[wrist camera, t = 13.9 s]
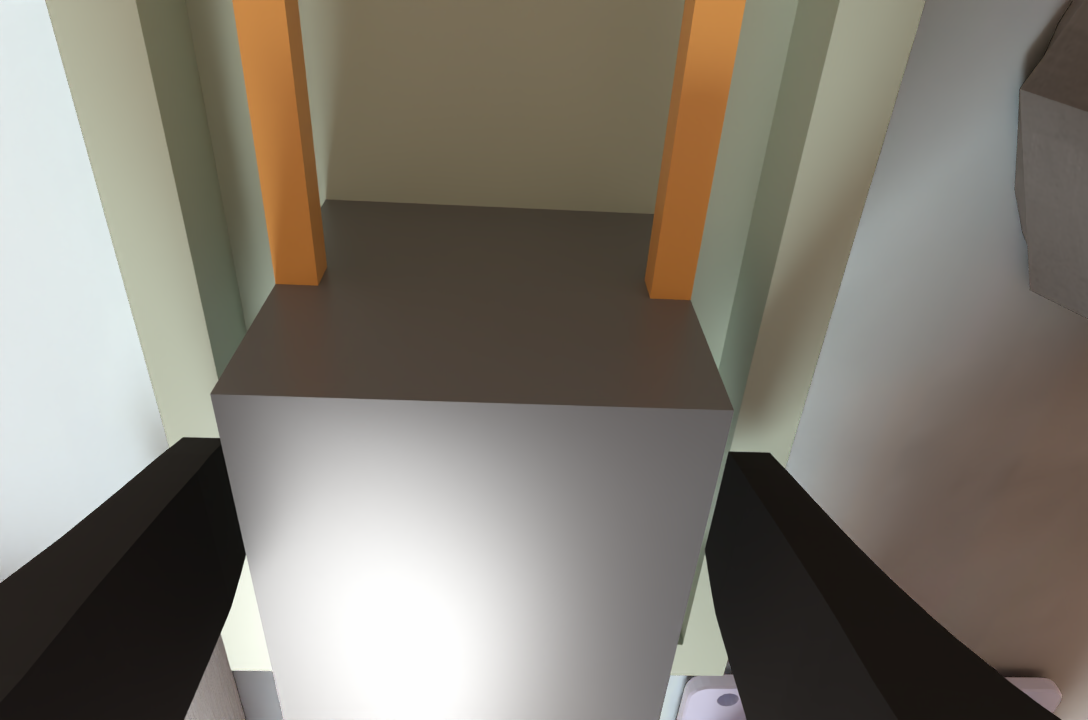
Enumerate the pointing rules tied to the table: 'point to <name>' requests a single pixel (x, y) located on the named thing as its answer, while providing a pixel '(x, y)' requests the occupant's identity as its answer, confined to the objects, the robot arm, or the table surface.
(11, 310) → the table surface
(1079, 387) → the table surface
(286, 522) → the orange handle block
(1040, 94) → the coffeepot
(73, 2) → the green tray
